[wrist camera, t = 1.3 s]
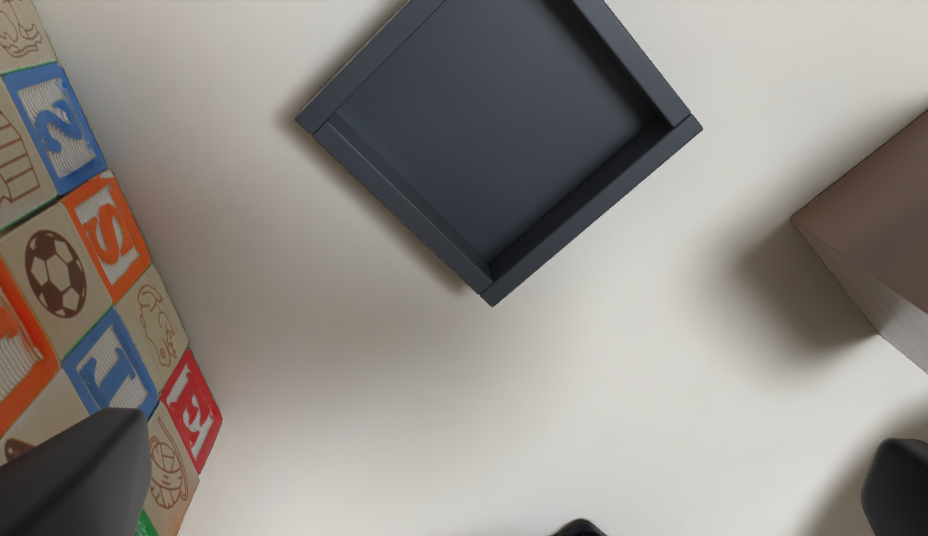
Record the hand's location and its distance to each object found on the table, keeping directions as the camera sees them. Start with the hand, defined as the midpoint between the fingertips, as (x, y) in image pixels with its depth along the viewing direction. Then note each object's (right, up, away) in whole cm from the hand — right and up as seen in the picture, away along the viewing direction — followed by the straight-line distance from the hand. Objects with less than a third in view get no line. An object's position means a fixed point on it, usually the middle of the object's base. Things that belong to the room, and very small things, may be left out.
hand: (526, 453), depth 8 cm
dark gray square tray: (0, +7, +12) cm, 14 cm away
